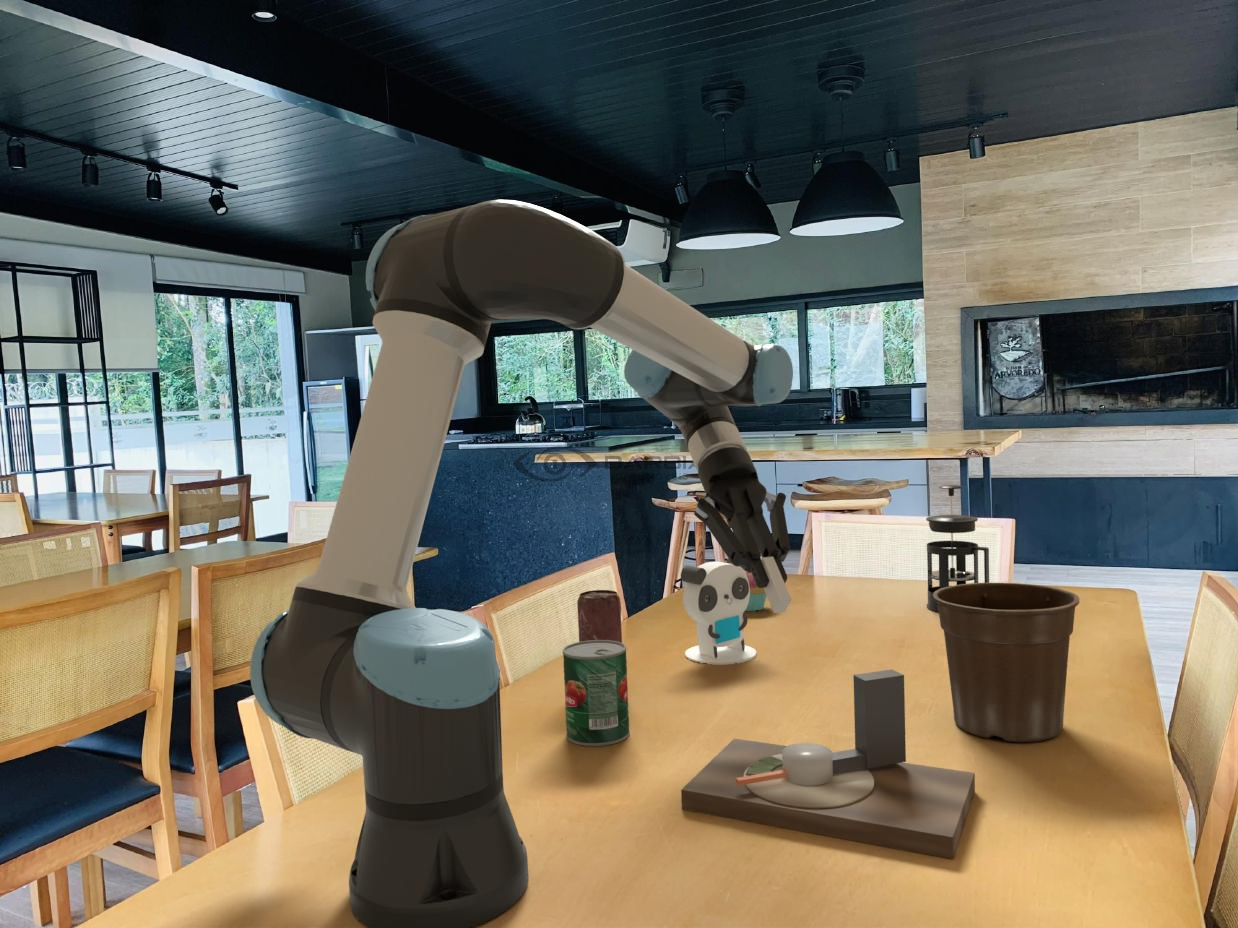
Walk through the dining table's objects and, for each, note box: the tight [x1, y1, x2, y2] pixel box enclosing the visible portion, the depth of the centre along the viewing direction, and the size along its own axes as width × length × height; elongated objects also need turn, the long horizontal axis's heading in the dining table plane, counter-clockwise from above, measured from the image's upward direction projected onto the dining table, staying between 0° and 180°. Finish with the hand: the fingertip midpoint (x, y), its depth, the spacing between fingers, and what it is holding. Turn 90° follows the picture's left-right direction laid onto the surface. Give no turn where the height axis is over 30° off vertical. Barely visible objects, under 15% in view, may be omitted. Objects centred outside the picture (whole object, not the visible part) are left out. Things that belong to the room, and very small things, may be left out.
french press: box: [925, 484, 990, 613], centre depth 171 cm, size 12×9×23 cm
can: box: [576, 589, 623, 643], centre depth 132 cm, size 6×6×14 cm
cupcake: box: [744, 571, 768, 612], centre depth 179 cm, size 9×8×12 cm
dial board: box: [680, 738, 976, 860], centre depth 94 cm, size 15×26×2 cm, turn 62°
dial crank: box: [736, 668, 907, 786], centre depth 94 cm, size 19×5×9 cm, turn 107°
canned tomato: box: [562, 640, 631, 747], centre depth 115 cm, size 8×8×11 cm
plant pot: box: [933, 582, 1080, 743], centre depth 112 cm, size 16×16×16 cm
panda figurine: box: [680, 557, 757, 666], centre depth 148 cm, size 12×11×15 cm
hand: (782, 606), depth 113 cm, fingers closed
